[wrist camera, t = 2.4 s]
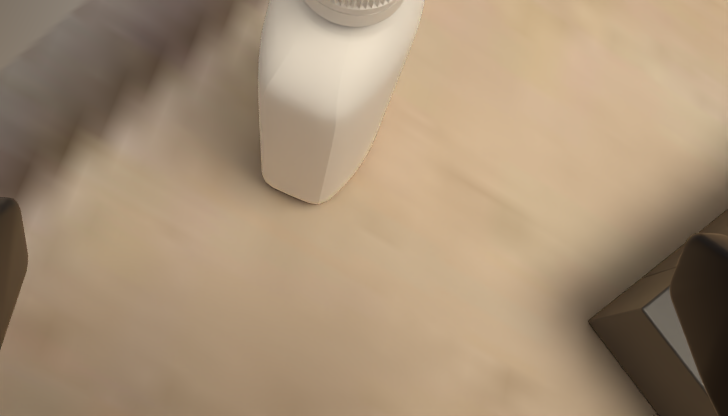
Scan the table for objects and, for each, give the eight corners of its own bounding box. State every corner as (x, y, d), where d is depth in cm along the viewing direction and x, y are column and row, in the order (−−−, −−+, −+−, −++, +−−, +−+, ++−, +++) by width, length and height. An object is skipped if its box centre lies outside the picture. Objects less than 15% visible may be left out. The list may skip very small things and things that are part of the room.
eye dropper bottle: (215, 122, 23) (156, -155, 11) (349, 33, 24) (418, -292, 13) (296, 226, 22) (321, 46, 11) (429, 129, 24) (575, -121, 12)
